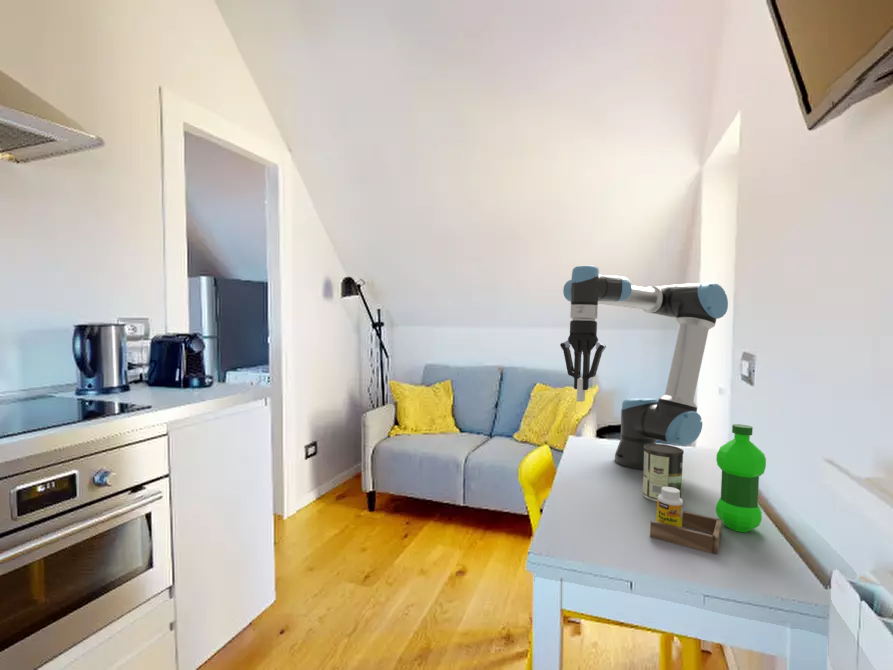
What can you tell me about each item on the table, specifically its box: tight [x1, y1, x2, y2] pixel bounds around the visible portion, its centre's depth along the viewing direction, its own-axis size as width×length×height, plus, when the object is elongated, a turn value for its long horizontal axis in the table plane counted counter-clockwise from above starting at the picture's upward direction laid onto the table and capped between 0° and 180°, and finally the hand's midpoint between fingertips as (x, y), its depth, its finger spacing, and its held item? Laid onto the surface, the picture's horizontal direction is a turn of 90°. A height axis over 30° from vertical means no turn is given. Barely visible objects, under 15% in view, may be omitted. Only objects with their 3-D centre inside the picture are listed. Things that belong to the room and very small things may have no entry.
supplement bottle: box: [655, 487, 684, 528], centre depth 111 cm, size 6×6×10 cm
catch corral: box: [649, 510, 723, 555], centre depth 110 cm, size 12×14×4 cm
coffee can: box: [642, 443, 685, 503], centre depth 134 cm, size 10×10×14 cm
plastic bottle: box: [715, 423, 767, 533], centre depth 115 cm, size 10×10×25 cm
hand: (580, 400), depth 137 cm, fingers closed
